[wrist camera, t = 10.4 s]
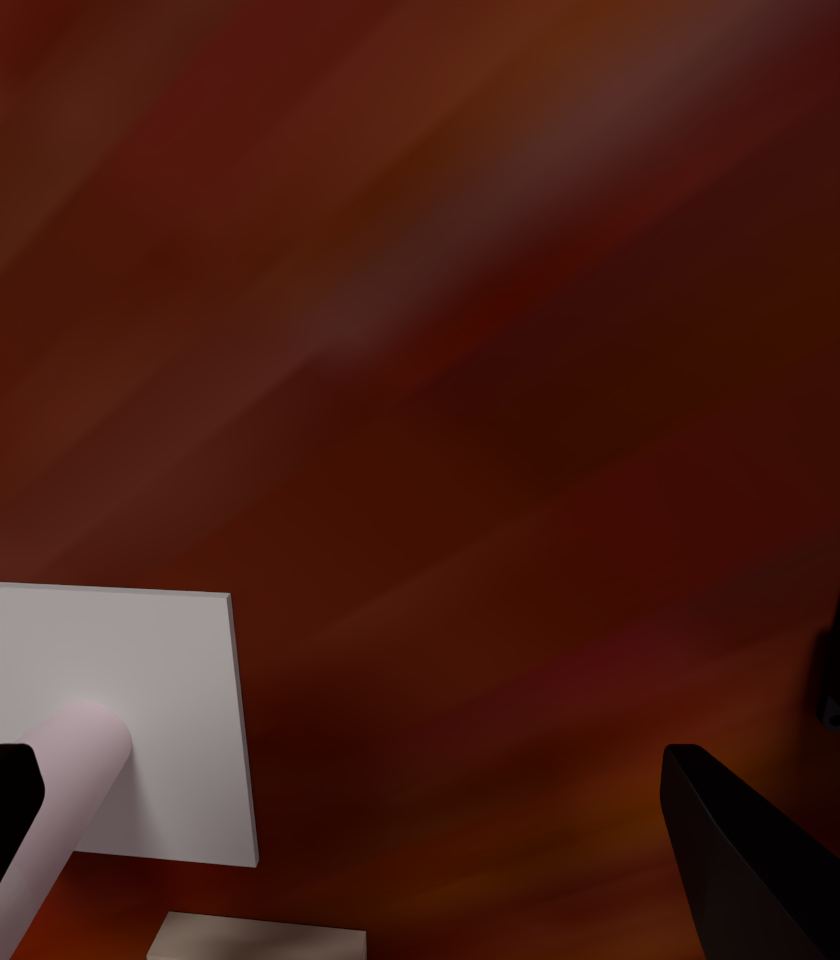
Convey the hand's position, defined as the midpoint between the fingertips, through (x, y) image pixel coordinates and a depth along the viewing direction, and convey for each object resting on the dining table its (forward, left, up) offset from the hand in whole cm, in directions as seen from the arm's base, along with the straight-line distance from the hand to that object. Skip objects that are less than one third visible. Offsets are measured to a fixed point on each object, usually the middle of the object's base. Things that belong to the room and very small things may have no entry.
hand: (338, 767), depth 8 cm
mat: (+15, +12, -13) cm, 23 cm away
